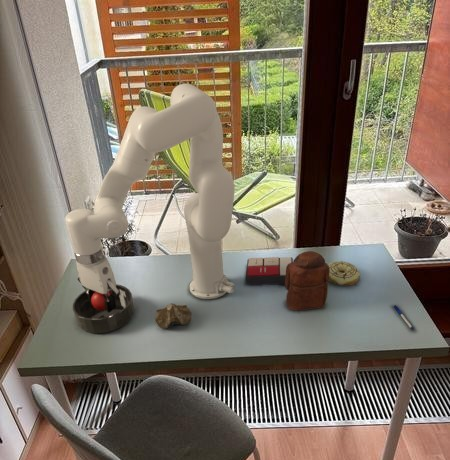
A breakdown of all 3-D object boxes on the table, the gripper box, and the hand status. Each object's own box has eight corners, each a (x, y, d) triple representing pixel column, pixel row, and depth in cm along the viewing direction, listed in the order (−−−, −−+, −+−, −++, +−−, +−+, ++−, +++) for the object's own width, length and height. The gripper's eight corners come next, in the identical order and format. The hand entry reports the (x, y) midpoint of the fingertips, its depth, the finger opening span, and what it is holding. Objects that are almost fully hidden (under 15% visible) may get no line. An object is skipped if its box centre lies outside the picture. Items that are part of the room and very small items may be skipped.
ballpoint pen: (392, 307, 126) (393, 304, 126) (395, 306, 126) (396, 304, 126) (411, 330, 118) (412, 327, 117) (414, 330, 118) (415, 327, 117)
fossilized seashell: (193, 305, 128) (161, 309, 130) (186, 297, 122) (152, 301, 124) (193, 330, 125) (160, 333, 127) (185, 323, 119) (151, 327, 121)
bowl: (146, 307, 132) (143, 293, 129) (107, 341, 120) (103, 327, 117) (105, 292, 140) (102, 278, 136) (65, 323, 128) (60, 308, 125)
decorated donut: (342, 292, 133) (343, 282, 131) (317, 276, 141) (318, 266, 138) (365, 279, 138) (367, 269, 136) (340, 265, 145) (341, 255, 143)
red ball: (118, 305, 129) (114, 289, 125) (104, 316, 125) (99, 300, 121) (103, 299, 132) (99, 283, 128) (89, 310, 128) (84, 294, 124)
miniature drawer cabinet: (247, 256, 146) (292, 255, 144) (248, 267, 148) (292, 266, 146) (245, 275, 137) (293, 273, 135) (246, 286, 139) (293, 285, 137)
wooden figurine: (320, 295, 132) (325, 245, 122) (327, 308, 127) (333, 257, 117) (282, 300, 131) (284, 249, 121) (287, 313, 126) (290, 261, 116)
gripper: (122, 255, 116) (134, 307, 127) (77, 240, 124) (91, 291, 134) (103, 269, 111) (116, 322, 122) (57, 253, 119) (73, 304, 129)
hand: (103, 305), depth 128 cm, fingers closed on red ball, 6 cm apart
